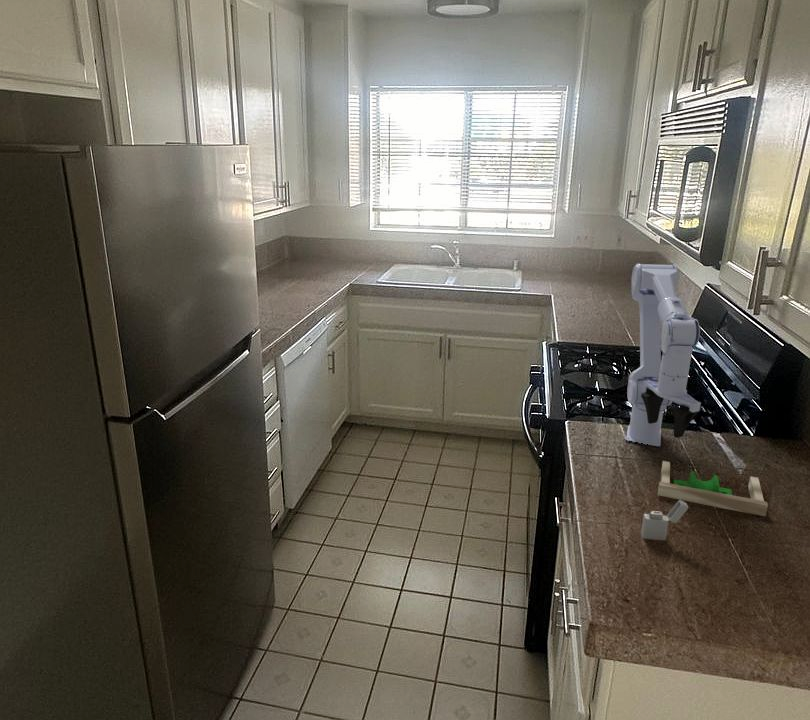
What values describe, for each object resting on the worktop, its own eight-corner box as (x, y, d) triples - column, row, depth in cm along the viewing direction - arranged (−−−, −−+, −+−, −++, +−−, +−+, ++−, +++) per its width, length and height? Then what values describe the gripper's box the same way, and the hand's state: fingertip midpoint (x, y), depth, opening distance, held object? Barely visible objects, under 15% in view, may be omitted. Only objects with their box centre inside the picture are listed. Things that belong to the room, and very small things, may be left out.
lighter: (642, 538, 114) (648, 501, 111) (640, 533, 115) (646, 496, 113) (682, 542, 113) (689, 504, 110) (679, 536, 114) (686, 499, 112)
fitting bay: (658, 470, 138) (660, 460, 137) (758, 488, 130) (760, 478, 130) (657, 495, 128) (659, 484, 127) (765, 516, 120) (768, 505, 120)
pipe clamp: (733, 478, 127) (736, 488, 123) (730, 493, 128) (732, 504, 124) (675, 468, 131) (676, 479, 127) (672, 483, 132) (673, 494, 128)
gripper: (715, 381, 127) (704, 439, 132) (662, 360, 140) (654, 414, 144) (690, 386, 124) (680, 445, 129) (638, 364, 137) (631, 418, 141)
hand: (664, 429), depth 136 cm, fingers open, 7 cm apart
